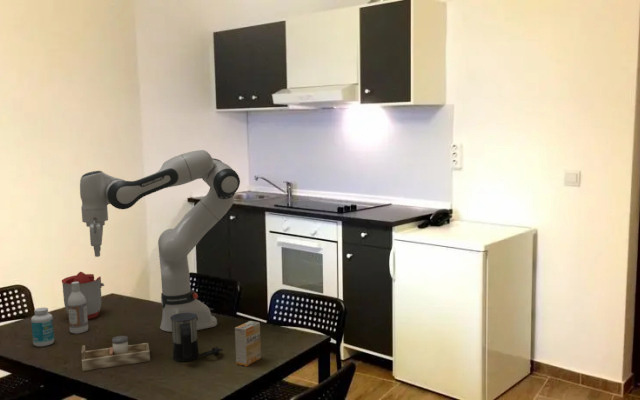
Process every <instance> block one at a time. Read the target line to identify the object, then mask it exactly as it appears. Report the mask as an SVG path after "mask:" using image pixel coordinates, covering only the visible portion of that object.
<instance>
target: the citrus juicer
mask: <svg viewBox="0 0 640 400" xmlns="http://www.w3.org/2000/svg"><path fill="white" fill-rule="evenodd" d="M72 282H79V286H80V292H81V293H82V294H83V295H84V297H85V299H86V305H87V318H88V320H91V319H95V318H96V317H98V316H99V314H100V312H101V307H102V287H105V284H104V283H103V282H102V278H101V276H98V277H96V279H95V274H93V273H85V272H83V271H78V273H77V274H76V275H71V276H67V277H65V278H63V279H61V283H62V293H63V303H64V308H65V311H66V313H67V315H68V298H69V296H70V294H71V293H72V286H71V283H72Z"/></svg>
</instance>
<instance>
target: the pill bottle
mask: <svg viewBox="0 0 640 400" xmlns="http://www.w3.org/2000/svg"><path fill="white" fill-rule="evenodd" d="M33 312H34V315H32V317H31V319H30V322H31V334H32V343H33V346H34V347H46V346H50V345H52V344H54V342H55V330H54V319H53V315H52V314H51V313H49V308H48V307H37V308H35V309H34V310H33Z"/></svg>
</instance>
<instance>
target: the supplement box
mask: <svg viewBox="0 0 640 400" xmlns="http://www.w3.org/2000/svg"><path fill="white" fill-rule="evenodd" d="M234 337H235V340H234V341H235V361H236V363H235V364H236V365H238V364H239V366H242V365H244V366H243V367H248V366H250V365H251V364H253V363H255V362H257V361H259V360H261V359H262V349H261V323H260V322H259V321H253V320H248V321H247V322H244V323H242V324H240V325H237V326H236V327H234Z"/></svg>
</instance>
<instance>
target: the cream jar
mask: <svg viewBox="0 0 640 400" xmlns="http://www.w3.org/2000/svg"><path fill="white" fill-rule="evenodd" d="M128 338H129V337H128V336H127V335H117V336H114V337H112V338H111V342H112V347H113V355H120V354H127V353H128V345H129V339H128Z"/></svg>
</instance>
